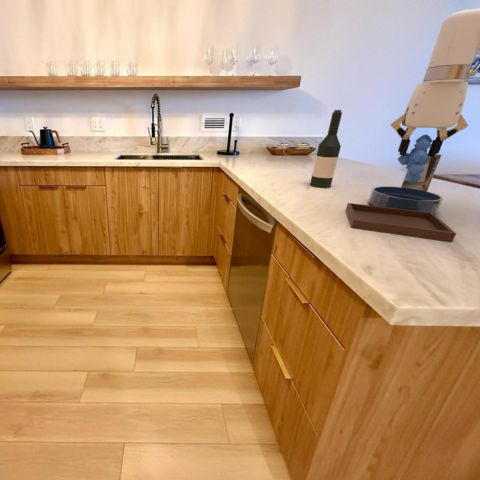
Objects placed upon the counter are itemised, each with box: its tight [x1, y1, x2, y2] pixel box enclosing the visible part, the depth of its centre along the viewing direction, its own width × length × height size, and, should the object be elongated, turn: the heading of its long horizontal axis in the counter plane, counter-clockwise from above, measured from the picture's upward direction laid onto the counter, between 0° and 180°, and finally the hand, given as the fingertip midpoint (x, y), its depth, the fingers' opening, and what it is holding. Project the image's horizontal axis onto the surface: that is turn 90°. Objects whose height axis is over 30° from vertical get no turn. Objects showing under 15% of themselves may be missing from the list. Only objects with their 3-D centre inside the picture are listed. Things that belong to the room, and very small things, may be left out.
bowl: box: [368, 185, 444, 215], centre depth 96 cm, size 18×18×5 cm
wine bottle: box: [309, 109, 343, 189], centre depth 118 cm, size 8×8×30 cm
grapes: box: [397, 134, 433, 183], centre depth 75 cm, size 12×7×12 cm, turn 140°
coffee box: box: [400, 153, 442, 192], centre depth 101 cm, size 9×6×16 cm
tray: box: [345, 202, 457, 243], centre depth 82 cm, size 22×18×2 cm
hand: (416, 155), depth 75 cm, fingers closed on grapes, 5 cm apart
